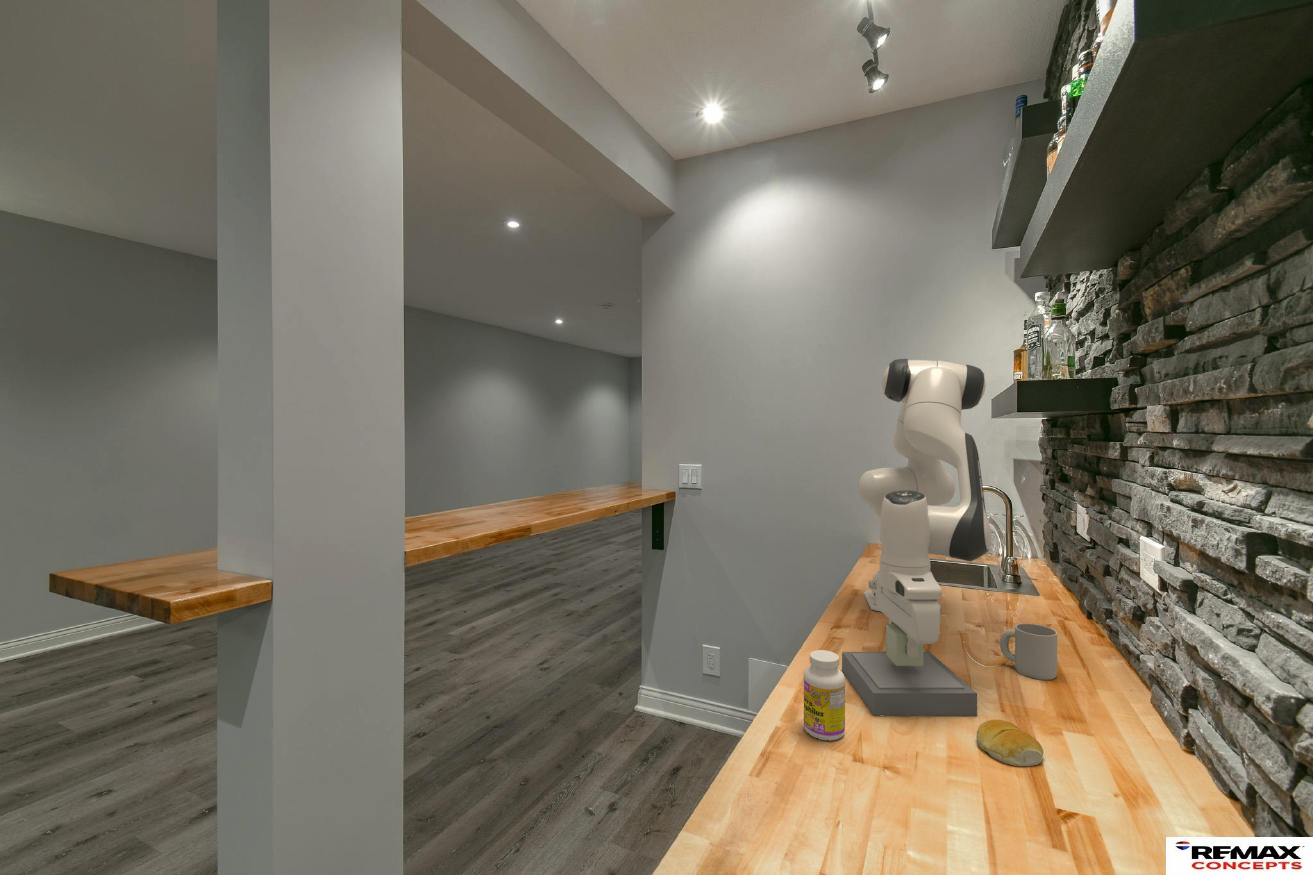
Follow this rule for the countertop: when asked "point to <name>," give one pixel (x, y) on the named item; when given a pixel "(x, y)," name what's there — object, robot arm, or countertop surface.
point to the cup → (1032, 650)
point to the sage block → (900, 647)
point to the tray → (908, 686)
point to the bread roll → (1009, 743)
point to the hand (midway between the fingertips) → (904, 649)
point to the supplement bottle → (824, 696)
